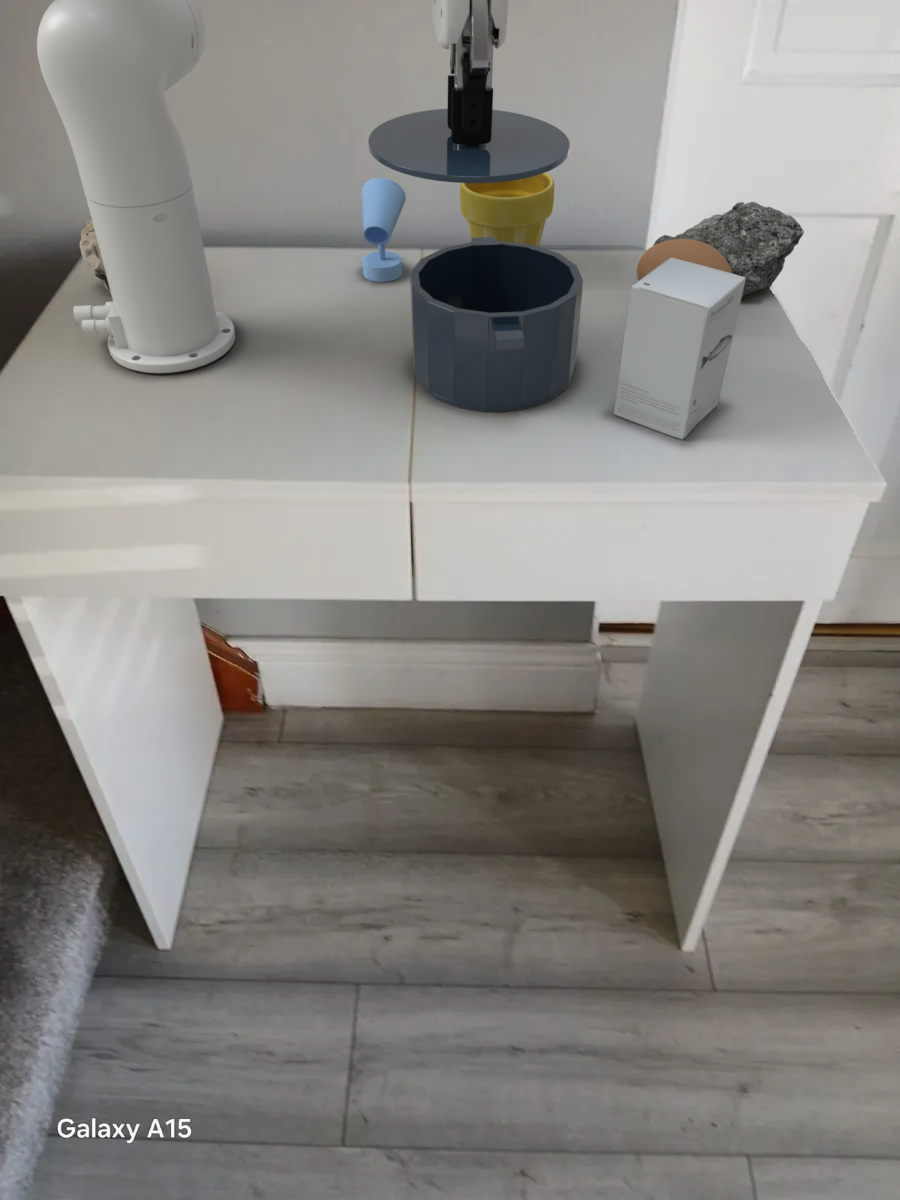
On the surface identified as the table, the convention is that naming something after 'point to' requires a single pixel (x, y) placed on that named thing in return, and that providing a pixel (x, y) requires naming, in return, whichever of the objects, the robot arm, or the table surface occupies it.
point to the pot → (495, 324)
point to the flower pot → (508, 208)
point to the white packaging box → (677, 345)
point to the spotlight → (381, 227)
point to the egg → (681, 255)
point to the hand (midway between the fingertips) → (468, 133)
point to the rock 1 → (93, 252)
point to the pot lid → (468, 148)
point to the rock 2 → (749, 241)
